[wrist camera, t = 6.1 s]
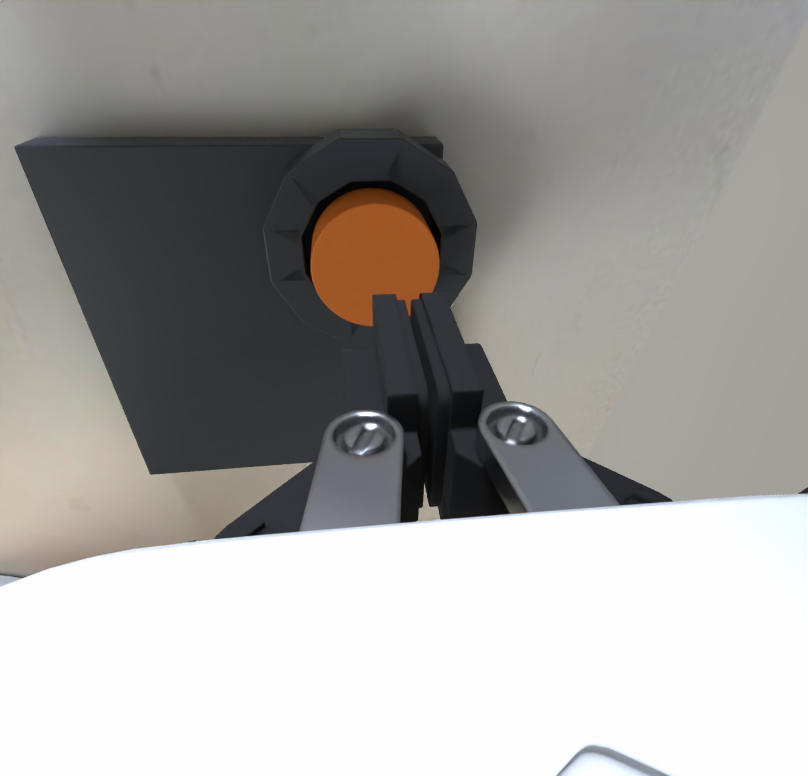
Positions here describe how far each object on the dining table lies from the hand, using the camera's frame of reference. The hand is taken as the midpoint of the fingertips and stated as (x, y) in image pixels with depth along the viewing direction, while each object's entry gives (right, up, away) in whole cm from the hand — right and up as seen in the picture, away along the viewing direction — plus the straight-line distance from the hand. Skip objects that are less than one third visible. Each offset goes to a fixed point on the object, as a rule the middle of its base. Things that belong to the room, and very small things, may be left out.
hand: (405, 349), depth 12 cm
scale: (-5, +2, +9) cm, 10 cm away
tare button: (-1, +4, +5) cm, 6 cm away
